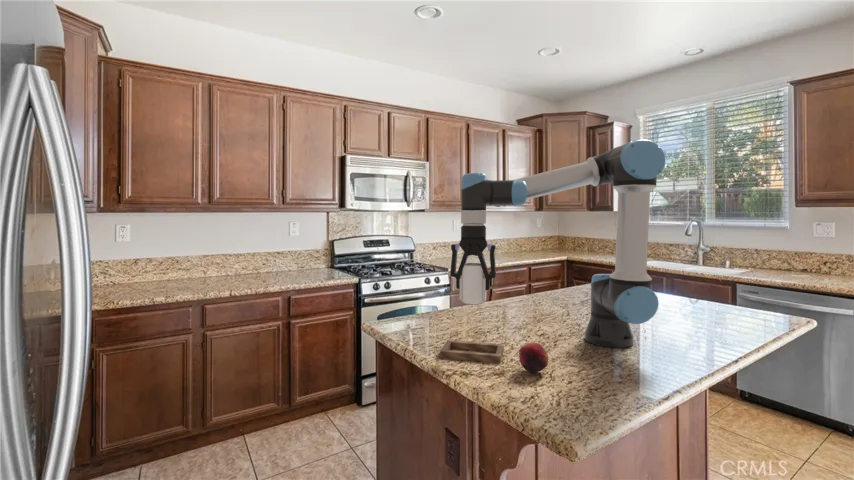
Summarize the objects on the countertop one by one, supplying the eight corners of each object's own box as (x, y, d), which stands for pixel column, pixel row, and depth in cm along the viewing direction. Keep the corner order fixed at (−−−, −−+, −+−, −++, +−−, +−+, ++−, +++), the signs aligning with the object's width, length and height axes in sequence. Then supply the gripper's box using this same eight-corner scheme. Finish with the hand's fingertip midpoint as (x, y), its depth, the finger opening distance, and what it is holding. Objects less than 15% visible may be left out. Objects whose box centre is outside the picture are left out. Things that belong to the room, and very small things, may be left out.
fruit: (547, 368, 115) (547, 340, 115) (549, 378, 108) (549, 349, 107) (519, 366, 117) (519, 338, 116) (518, 376, 109) (519, 347, 109)
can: (482, 305, 122) (483, 265, 121) (461, 304, 123) (461, 265, 123) (484, 301, 128) (484, 263, 128) (463, 300, 130) (463, 262, 129)
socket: (503, 350, 130) (503, 344, 130) (500, 362, 119) (500, 356, 119) (447, 346, 134) (447, 340, 134) (440, 357, 124) (440, 351, 124)
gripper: (506, 224, 126) (505, 299, 127) (444, 224, 130) (444, 295, 132) (504, 225, 118) (503, 304, 120) (439, 224, 123) (439, 300, 125)
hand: (472, 299), depth 126 cm, fingers closed on can, 6 cm apart
